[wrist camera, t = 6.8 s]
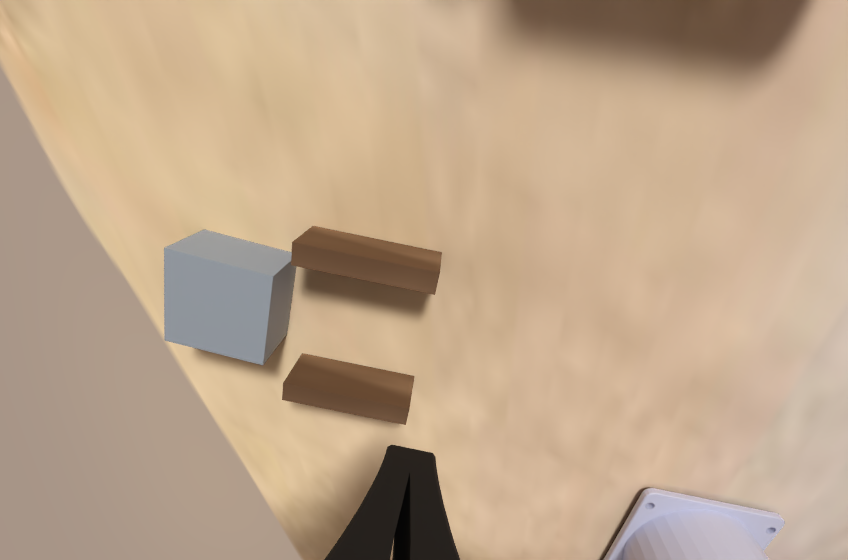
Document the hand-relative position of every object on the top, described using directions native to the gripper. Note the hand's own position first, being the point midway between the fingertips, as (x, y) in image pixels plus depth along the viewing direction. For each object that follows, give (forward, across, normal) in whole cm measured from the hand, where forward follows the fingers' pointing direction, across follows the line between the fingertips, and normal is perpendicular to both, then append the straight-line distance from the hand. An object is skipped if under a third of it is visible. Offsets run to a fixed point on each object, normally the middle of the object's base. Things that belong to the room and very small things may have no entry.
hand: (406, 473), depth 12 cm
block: (+9, +9, 0) cm, 13 cm away
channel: (+9, +3, 0) cm, 9 cm away
